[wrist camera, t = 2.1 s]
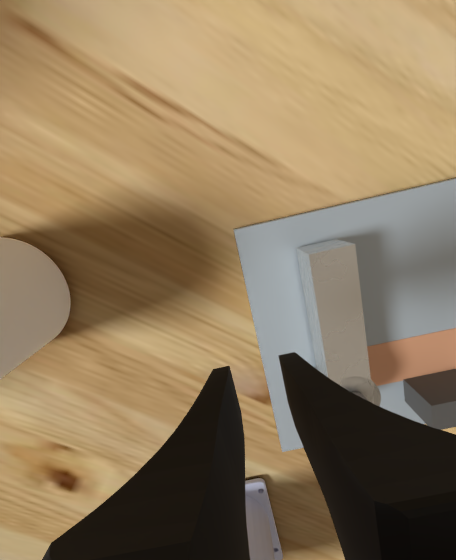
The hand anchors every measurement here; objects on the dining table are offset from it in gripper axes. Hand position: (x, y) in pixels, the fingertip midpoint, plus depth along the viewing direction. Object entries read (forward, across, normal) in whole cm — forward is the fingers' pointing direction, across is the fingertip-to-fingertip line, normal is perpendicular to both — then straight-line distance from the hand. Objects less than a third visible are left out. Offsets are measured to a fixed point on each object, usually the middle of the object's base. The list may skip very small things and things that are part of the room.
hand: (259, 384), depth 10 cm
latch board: (+10, -10, +4) cm, 15 cm away
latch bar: (+9, -6, +3) cm, 11 cm away
